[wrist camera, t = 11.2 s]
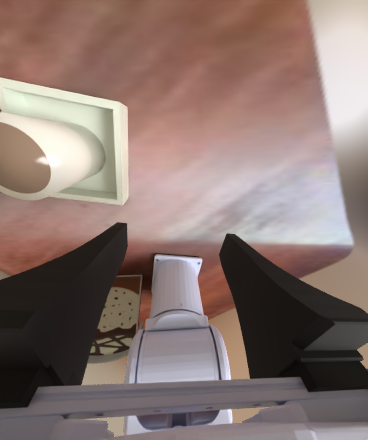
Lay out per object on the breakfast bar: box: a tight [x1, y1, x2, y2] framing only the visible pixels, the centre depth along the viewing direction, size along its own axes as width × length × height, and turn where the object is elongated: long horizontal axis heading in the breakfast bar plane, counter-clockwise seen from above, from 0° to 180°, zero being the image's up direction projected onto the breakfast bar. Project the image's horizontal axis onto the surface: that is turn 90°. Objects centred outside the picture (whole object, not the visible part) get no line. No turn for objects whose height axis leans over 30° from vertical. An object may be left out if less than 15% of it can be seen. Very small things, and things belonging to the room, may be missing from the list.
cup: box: [0, 112, 106, 200], centre depth 13 cm, size 5×5×8 cm
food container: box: [87, 275, 143, 363], centre depth 24 cm, size 12×6×10 cm, turn 90°
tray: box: [0, 78, 129, 205], centre depth 16 cm, size 10×10×3 cm
